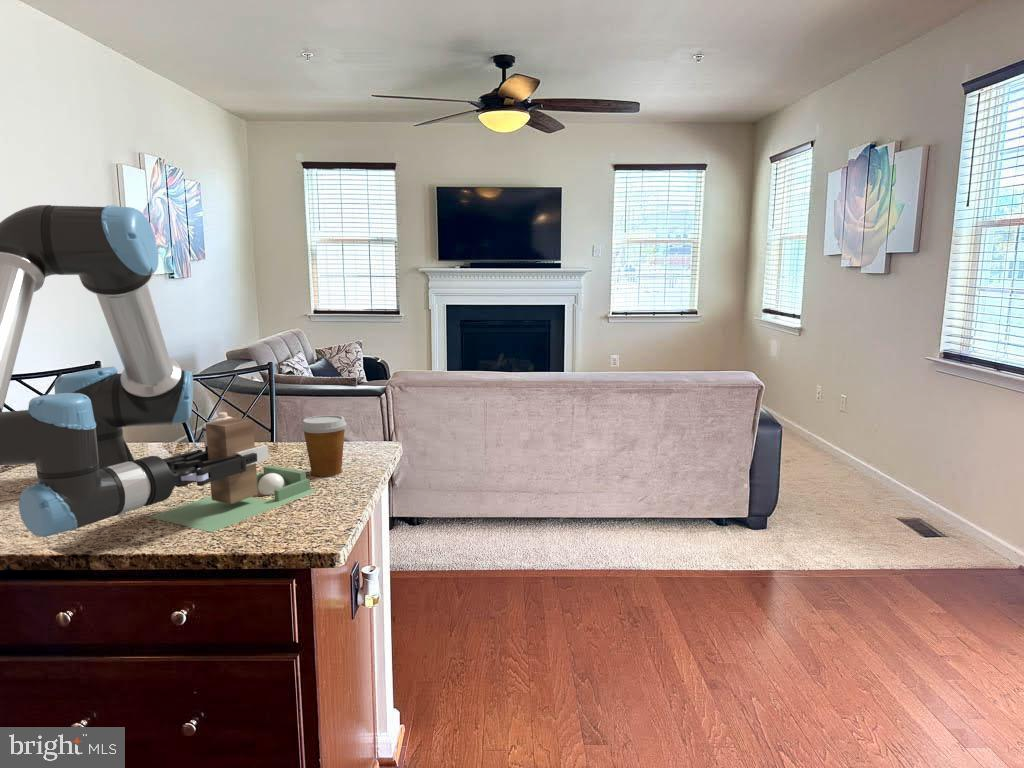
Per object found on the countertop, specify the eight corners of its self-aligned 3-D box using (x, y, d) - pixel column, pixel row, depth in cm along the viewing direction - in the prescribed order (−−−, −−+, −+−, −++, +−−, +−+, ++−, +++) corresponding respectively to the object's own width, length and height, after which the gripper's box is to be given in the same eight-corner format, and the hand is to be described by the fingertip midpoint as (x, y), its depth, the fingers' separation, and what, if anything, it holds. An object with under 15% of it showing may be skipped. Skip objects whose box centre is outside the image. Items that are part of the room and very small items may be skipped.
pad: (150, 525, 118) (147, 497, 117) (259, 487, 138) (258, 463, 138) (212, 540, 110) (210, 511, 109) (318, 498, 131) (317, 473, 130)
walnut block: (211, 500, 122) (205, 423, 120) (239, 490, 127) (233, 417, 125) (230, 504, 119) (224, 426, 117) (258, 494, 125) (252, 419, 122)
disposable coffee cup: (337, 480, 143) (334, 424, 141) (295, 478, 145) (292, 423, 143) (356, 467, 152) (353, 415, 150) (317, 465, 154) (314, 414, 152)
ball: (268, 466, 133) (275, 487, 135) (249, 480, 129) (257, 502, 131) (286, 469, 131) (294, 491, 133) (267, 484, 127) (275, 506, 129)
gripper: (105, 498, 111) (224, 464, 131) (176, 515, 103) (292, 476, 123) (100, 454, 110) (221, 426, 130) (172, 467, 102) (289, 435, 122)
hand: (255, 450), depth 127 cm, fingers closed on walnut block, 5 cm apart
